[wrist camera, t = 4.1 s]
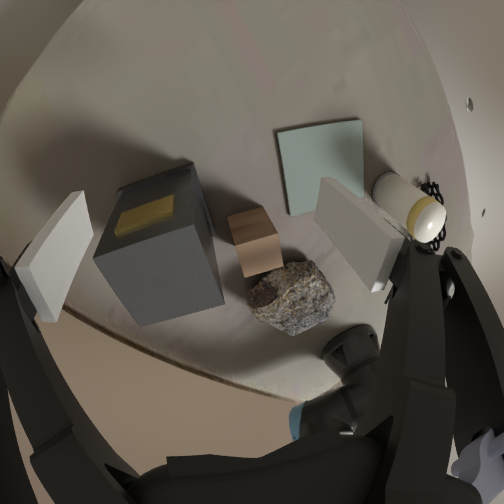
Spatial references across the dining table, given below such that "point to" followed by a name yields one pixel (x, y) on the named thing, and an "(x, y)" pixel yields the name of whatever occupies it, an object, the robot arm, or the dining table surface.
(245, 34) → the dining table surface
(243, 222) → the walnut block
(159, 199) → the box
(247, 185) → the dining table surface
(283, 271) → the rock
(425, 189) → the decorative element
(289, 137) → the mat
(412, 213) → the cartridge
